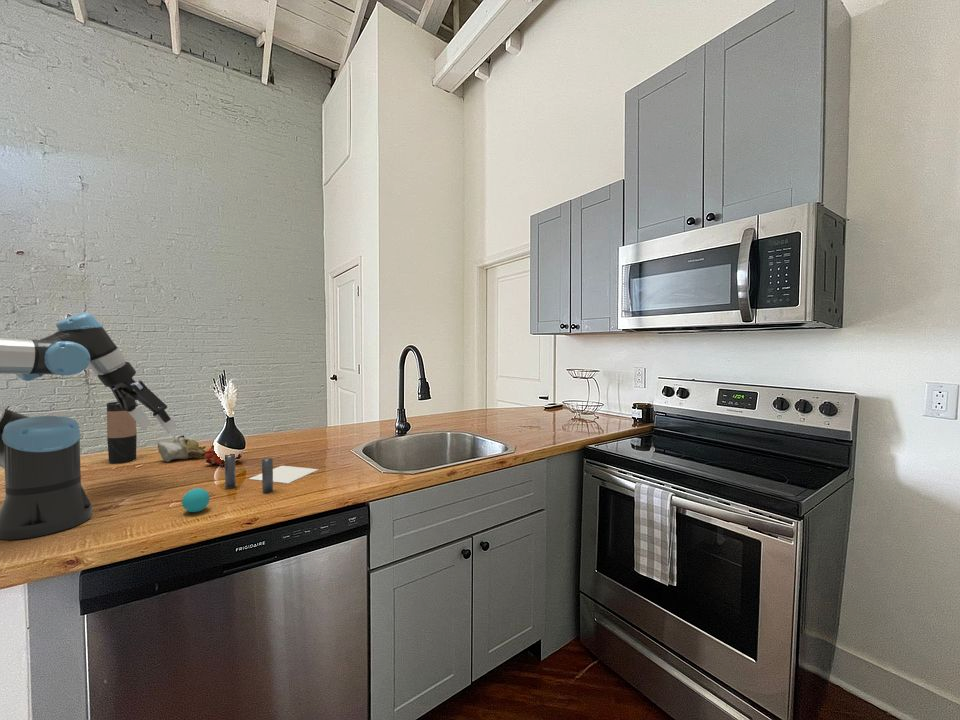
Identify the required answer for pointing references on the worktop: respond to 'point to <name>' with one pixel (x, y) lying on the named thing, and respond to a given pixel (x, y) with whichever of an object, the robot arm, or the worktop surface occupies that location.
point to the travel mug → (120, 434)
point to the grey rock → (180, 449)
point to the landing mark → (287, 474)
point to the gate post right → (267, 475)
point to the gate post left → (230, 471)
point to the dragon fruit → (214, 457)
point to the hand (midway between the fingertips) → (160, 428)
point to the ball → (195, 500)
